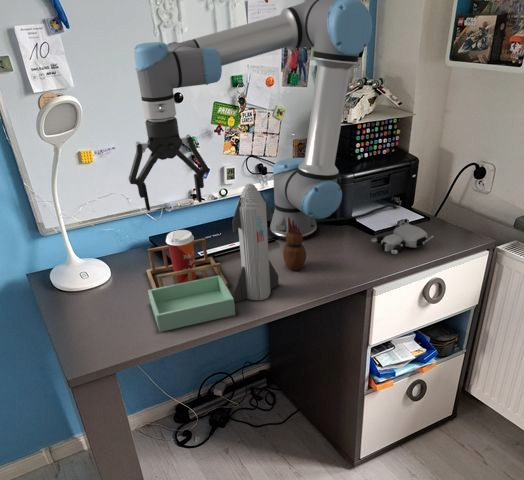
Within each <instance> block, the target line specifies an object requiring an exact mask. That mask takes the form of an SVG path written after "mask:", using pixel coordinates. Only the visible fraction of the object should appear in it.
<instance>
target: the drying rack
mask: <svg viewBox="0 0 524 480" xmlns="http://www.w3.org/2000/svg"><path fill="white" fill-rule="evenodd" d="M206 241H207V240H206V238H199V239H194V240H193V245H196V244H202V253H203V258H200V259H195V268H191V269H186V270H181V271H176V272H174V269H173V265H172V264H170V265H169V262H168V256H167V250H169V248H168V244H167V245H163V246H158V247H157V246H156V247H152V248H147V253H148V259H149V263H150V268H149V269H146V270H145V271H146V274H147V278H148V280H149V283H150V287H151V289H155V288H157V286H156V283H155V280H154V277H153V274H154V275H155V274H158V275H157V281H158V285H159V288H160V287H165V286H164V282H163V279H166V278H171V277H172V279H173V283H174V284H178V279H177V275H181V274H186V273H188V277H189V281H193V278H192V272H200V271H202V275H203V276H202V277H203V278H208V274H207V270H210V269H213V270H214V272H215V274H216V276H217V275H220V276H221V278H222V280H223V281H224V283H225V285H226V287H227V288H228V289H229V283H228V282H227V281H228V280H227V279H226V278H225V276H224V275H223V273H222V267H221V262H216V261H215V260H214V258H213V256H209V257H208V251H207V250H208V249H207V243H206ZM159 251H161V252H162V258H163V263H164V266H159V267H156V266H155V262H154V257H153V253H154V252H159ZM209 263H210V264H209ZM204 264H206V265H204ZM198 265H201V266H198ZM169 271H172V272H169ZM164 272H168V273H164ZM159 273H161V274H159ZM203 278H202V279H203ZM174 284H173V285H174Z"/></svg>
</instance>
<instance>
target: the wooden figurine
mask: <svg viewBox="0 0 524 480" xmlns="http://www.w3.org/2000/svg"><path fill="white" fill-rule="evenodd" d="M303 241H304V239H303V237H302V233H301V232H300V230H299V228H297V225H295V226H294V220H292V226H291V222H290V219H289V217H288V233H287V234H286V240H285V242H286V243H285V245H284V247H283V251H282V256H283V261H284V263H285V266H286V268H287V269H288V270H290V271H301V269H303V268H304V266H305V263H306V262H307V251H306V248H305V247H304V245H303V244H302V243H303Z"/></svg>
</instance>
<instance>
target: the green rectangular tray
mask: <svg viewBox="0 0 524 480" xmlns="http://www.w3.org/2000/svg"><path fill="white" fill-rule="evenodd" d="M147 293H148V298H149V302H150V307H151V310H152V313H153V315H154V316H153V317H154V319H155V323H156V326H157V329H158V331H159V333H163V332H167V331H171V330H175V329H181V328H183V327H188V326H192V325H197V324H201V323H206V322H210V321H215V320H219V319H223V318H228V317H232V316H236V307H235V297H234V296H233V295H232V293H231V291H230V290H229V287H228V288H227V287H226V285H225V283H224V281H223V280H222V278H221V276H220V275H217V274H216V275H213V276H209V277H208V276H207V278H199V279H196V280H194V281H189V282H184V283H179V284H171V285H165V286H164V287H160V286H159V287H156V288H155V289H152V288H151V289H148V290H147Z"/></svg>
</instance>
